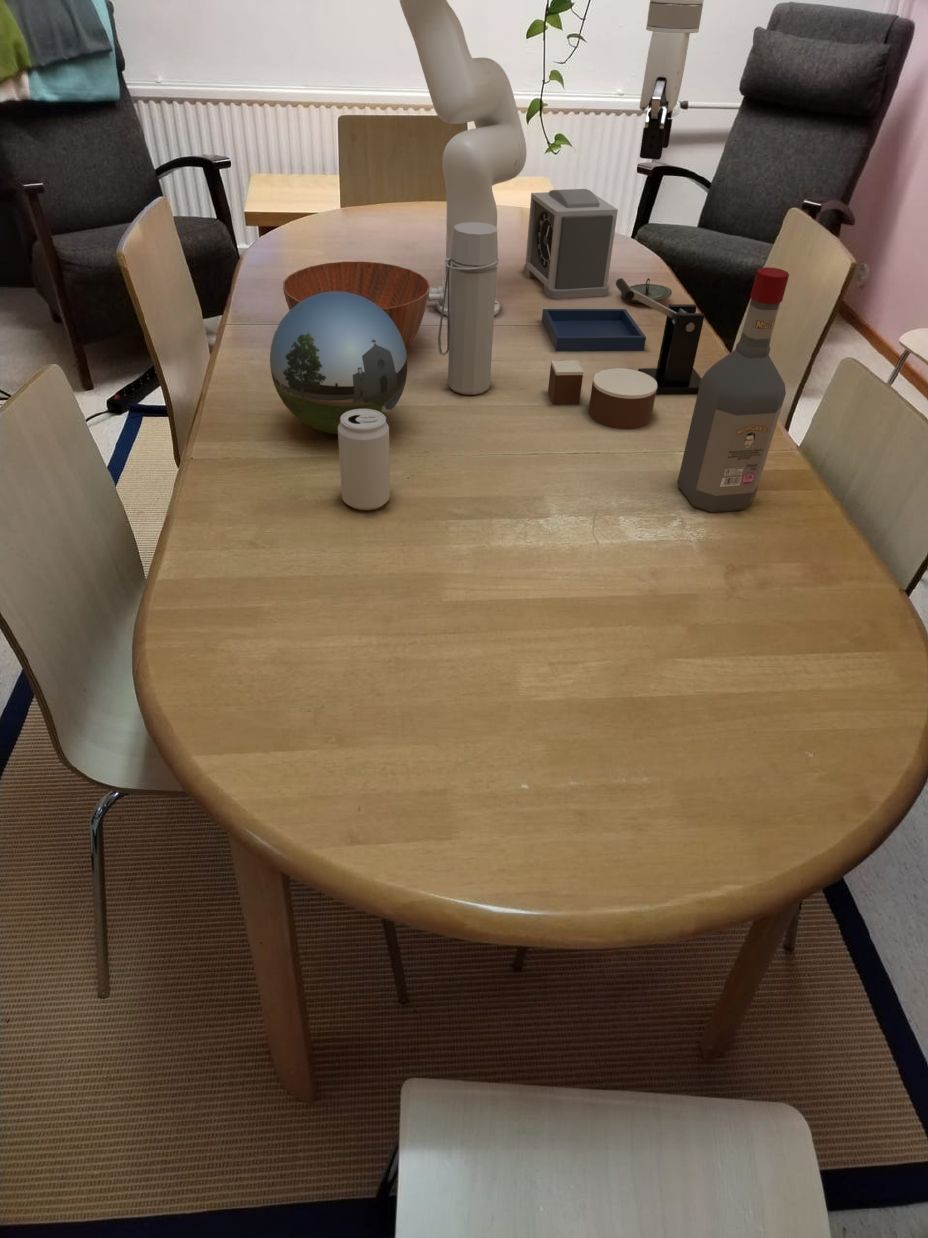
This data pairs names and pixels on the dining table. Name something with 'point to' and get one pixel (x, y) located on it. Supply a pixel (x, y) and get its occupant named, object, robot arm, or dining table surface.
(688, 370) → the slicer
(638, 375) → the cake
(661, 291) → the lid
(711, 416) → the liquor
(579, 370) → the cake slice
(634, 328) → the tray
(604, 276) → the alarm clock
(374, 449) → the beverage can
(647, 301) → the lever
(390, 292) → the bowl
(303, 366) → the decorative sphere
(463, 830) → the dining table surface
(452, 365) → the water bottle
